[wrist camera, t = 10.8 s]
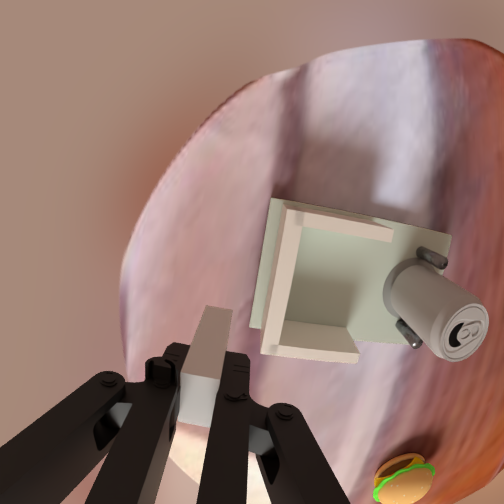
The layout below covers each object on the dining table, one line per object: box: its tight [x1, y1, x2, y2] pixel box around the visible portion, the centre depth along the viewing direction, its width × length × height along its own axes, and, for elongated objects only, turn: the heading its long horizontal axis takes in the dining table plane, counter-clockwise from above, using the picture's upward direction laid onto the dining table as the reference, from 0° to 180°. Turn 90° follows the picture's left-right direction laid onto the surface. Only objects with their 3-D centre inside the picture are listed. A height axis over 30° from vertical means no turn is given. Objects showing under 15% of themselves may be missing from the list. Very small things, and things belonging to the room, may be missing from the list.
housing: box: [260, 204, 394, 364], centre depth 30 cm, size 10×14×6 cm
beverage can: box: [391, 265, 489, 362], centre depth 27 cm, size 6×6×12 cm
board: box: [249, 197, 452, 345], centre depth 34 cm, size 22×14×2 cm, turn 81°
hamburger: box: [373, 453, 435, 504], centre depth 38 cm, size 12×12×9 cm
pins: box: [395, 246, 448, 349], centre depth 31 cm, size 1×10×5 cm, turn 171°
